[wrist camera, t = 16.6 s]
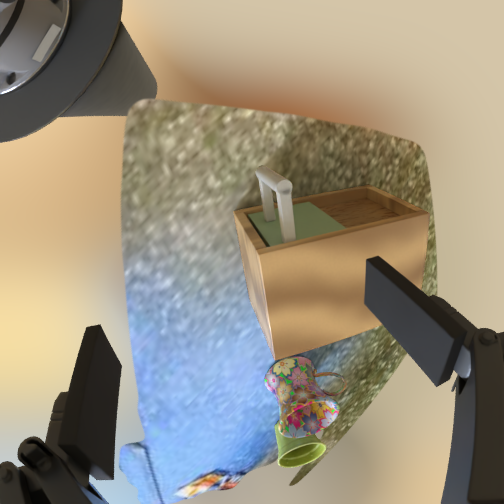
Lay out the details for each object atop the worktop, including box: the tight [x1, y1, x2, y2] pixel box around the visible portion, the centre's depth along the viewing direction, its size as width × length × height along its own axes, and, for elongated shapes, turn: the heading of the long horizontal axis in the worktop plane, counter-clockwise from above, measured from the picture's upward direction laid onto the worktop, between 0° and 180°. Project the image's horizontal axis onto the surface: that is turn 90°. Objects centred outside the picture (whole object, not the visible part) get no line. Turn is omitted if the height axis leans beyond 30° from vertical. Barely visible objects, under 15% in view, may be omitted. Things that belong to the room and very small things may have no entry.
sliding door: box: [248, 166, 347, 247], centre depth 30 cm, size 6×7×10 cm
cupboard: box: [233, 185, 430, 360], centre depth 35 cm, size 12×18×12 cm
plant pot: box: [275, 420, 326, 468], centre depth 52 cm, size 9×9×9 cm
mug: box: [265, 356, 347, 438], centre depth 44 cm, size 12×9×11 cm
